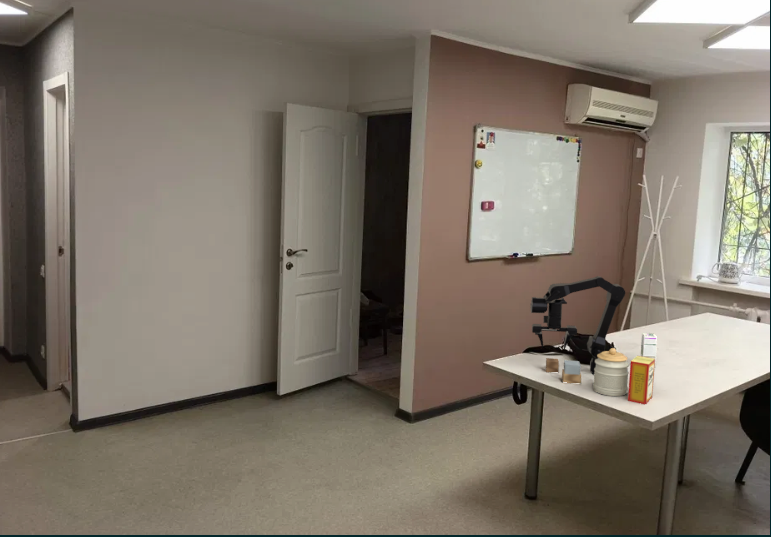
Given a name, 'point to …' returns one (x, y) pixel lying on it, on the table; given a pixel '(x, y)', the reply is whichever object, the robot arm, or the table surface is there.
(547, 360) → the walnut cube
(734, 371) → the table surface
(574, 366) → the grey block
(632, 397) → the baking soda box
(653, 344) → the syrup box
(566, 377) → the oak block
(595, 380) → the jar
